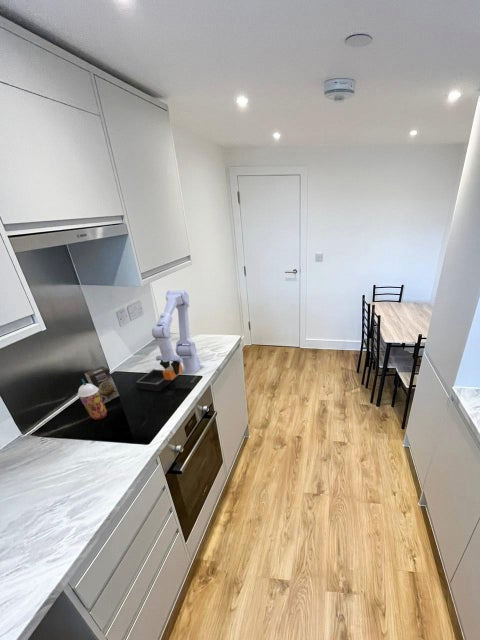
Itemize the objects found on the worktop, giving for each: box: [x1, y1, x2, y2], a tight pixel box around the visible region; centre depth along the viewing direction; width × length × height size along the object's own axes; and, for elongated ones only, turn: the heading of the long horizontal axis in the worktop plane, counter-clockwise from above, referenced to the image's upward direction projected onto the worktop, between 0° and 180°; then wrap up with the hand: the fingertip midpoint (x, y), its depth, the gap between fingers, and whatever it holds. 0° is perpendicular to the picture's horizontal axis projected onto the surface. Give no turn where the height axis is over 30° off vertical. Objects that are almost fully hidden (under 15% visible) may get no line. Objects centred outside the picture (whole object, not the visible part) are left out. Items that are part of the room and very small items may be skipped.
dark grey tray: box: [135, 368, 177, 392], centre depth 174 cm, size 15×14×4 cm
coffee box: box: [84, 365, 120, 405], centre depth 160 cm, size 9×6×16 cm
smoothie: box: [77, 378, 108, 421], centre depth 146 cm, size 8×8×20 cm
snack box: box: [163, 363, 184, 381], centre depth 167 cm, size 10×4×4 cm, turn 164°
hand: (173, 373), depth 168 cm, fingers closed on snack box, 4 cm apart
